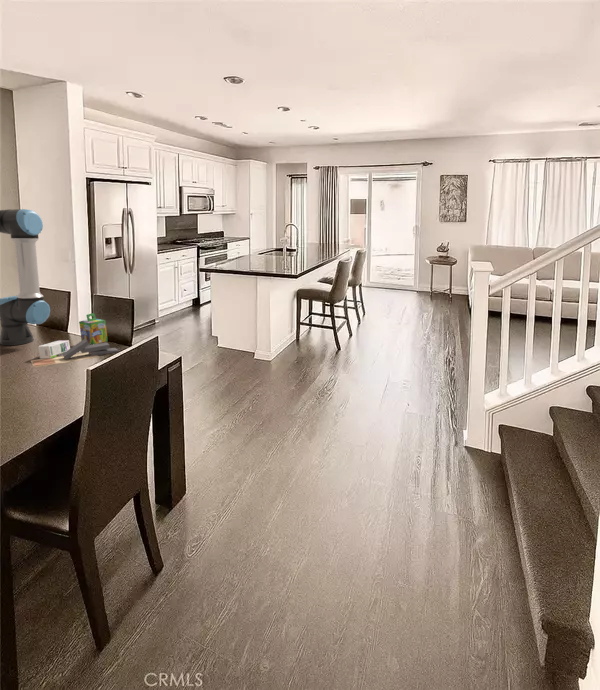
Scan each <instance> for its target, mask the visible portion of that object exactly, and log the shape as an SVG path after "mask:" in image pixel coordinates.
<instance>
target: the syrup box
mask: <svg viewBox="0 0 600 690" xmlns="http://www.w3.org/2000/svg"><path fill="white" fill-rule="evenodd" d="M37 349H38V354H39V355H38V356H39V359H51V358H54V357H57V356H63V355H62V354H63V353H65V352H66V351H68V350H69V349H71V346H70V340H69V339H68V340H67V339H65V340H55V341H52V342H48V343H45V344H40V345H38V346H37Z"/></svg>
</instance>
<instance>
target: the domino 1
mask: <svg viewBox="0 0 600 690" xmlns="http://www.w3.org/2000/svg"><path fill="white" fill-rule="evenodd" d="M88 345H91V344H90V343H89V342H88V341H87V339H86V338H85V339H84V340H82V341H79V342H78V343H76V344H75V345H73V346H72V347H70V349H69V350H68V351H66V352H65V353H63V354H62V355H61V356H63V357H64V358H65V359H66V360H67V359H69V358H70V357H72V356H73V355H75V354H77V353H80V352H81V351H80V350H82V349H83V348H85V347H86V346H88Z"/></svg>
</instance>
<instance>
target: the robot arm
mask: <svg viewBox="0 0 600 690" xmlns="http://www.w3.org/2000/svg"><path fill="white" fill-rule="evenodd" d="M43 228H44V224H43V219H42V218H41V216H40V215H39V214H38V213H37V212H36V211H35V210H32V209H26V208H21V209H8V208H7V209H0V233H1V234H6V235H10V239H11V240H12V241H13V242H14V244H15V245H14V246H15V254H16V264H17V266H16V267H17V274H18V284H19V286H18V287H19V293H18V295H12V296H6V297H1V298H0V326H1V327H0V328H1V330H0V345H2V346H18V345H24V344H28V343H31V342H33V341H34V334H33V332H32V330H31V329H30V327H29V324H30V325H41V324H44V323H45V322H47V320H48V319H49V317H50V315H51V314H50V313H51V307H50V304H48V302H46V301H45V298H44V295H43V294H42V292H41V291H40V280H39V278H40V277H39V269H38V257H37V245H36V244H37V241H39V234H41V233H42V230H43Z"/></svg>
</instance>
